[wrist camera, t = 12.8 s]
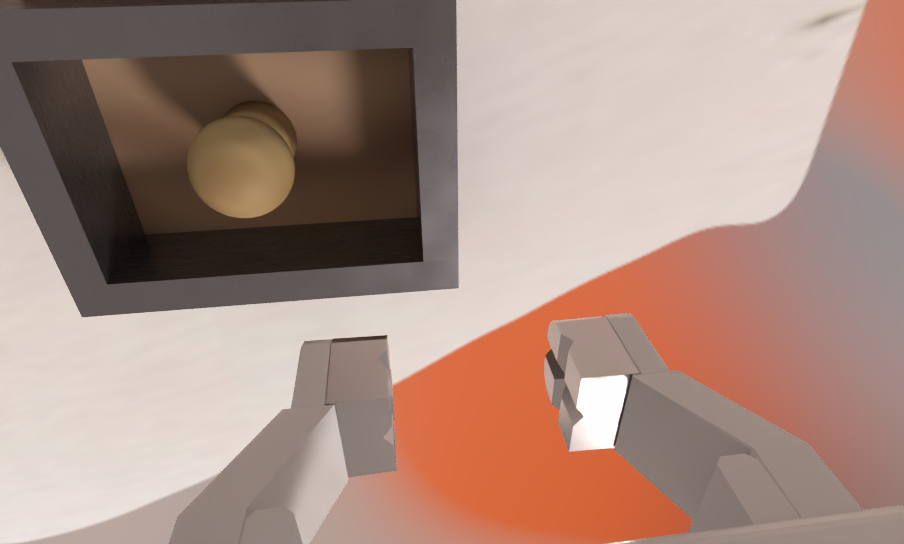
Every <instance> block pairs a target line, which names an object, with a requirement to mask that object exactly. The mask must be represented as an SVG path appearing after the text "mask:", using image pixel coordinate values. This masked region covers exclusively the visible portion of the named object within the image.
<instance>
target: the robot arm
mask: <svg viewBox="0 0 904 544" xmlns="http://www.w3.org/2000/svg"><path fill="white" fill-rule="evenodd" d="M547 338H548V340H549V343H550V346H551V348H552V349H551V350H550V351H549V352H548V353H547V354H546V356H545V366H544V373H545V384H546V388H547V392H548V395H549V398H550V401H551V404H552V405H554V406H555V407H557V408H558V409H559V410H560V414H559V420H558V423H559V426H560V428H561V431H562V434H563V436H564V439H565V442H566V444H567V447H568V450H569V451H578V450H591V449H603V448H615V449H614V450H615V451H616V452H617V453H618V454H620V455H621V456H622V457H623V458H624V459H625V460H626V461H627V462H629V463H630V464H631V465H632V466H633V467H634V468H636V470H638V471H639V472H640V473H641V474H642V475H643V476H644V477H645V478H647V479H648V480H649V481H650V482H651V483H652V484H653V485H654V486H656V487H657V488H658V489H659V490H660V491H661V492H662V493H663V494H665V495H666V496H667V497H668V498H669V499H671V501H672V502H674V503H675V504H676V505H677V506H678V507H679V508H680V509H681V510H682V511H684V512H685V513H686V514H687V515H688V516H689V517H690V518H691V519H693V522H692V525H691V527H690V530H689V532H688V533H684V534H676V535H669V536H661V537H653V538H646V539H638V540H630V541H623V542H615V543H608V544H904V505H899V506H892V507H883V508H876V509H868V510H862V508H861V507H860V506H859V505H858V503H857V502H856V501H855V500H854V499H853V497H852V496H851V495H850V494H849V493H848V491H847V490H846V489H845V488H844V486H843V485H842V484H841V483H840V482H839V480H838V479H837V478H836V477H835V476H834V474H833V473H832V472H831V471H830V469H829V468H828V467H827V466H826V464H825V463H824V462H823V461H822V460H821V458H820V457H819V456H818V455H817V454H816V453H815V451H814V450H813V449H812V447H811V446H810V445H809V444H807V443H806V442H804V441H802V440H800V439H798V438H797V437H795V436H793V435H791V434H790V433H787V432H786V431H784V430H782V429H781V428H779V427H777V426H775V425H774V424H772V423H770V422H768V421H766V420H765V419H763V418H761V417H759V416H757V415H756V414H754V413H752V412H750V411H749V410H747V409H745V408H743V407H741V406H740V405H738V404H736V403H734V402H733V401H731V400H729V399H727V398H725V397H724V396H722V395H720V394H718V393H717V392H715V391H713V390H711V389H709V388H708V387H706V386H704V385H702V384H700V383H699V382H697V381H695V380H693V379H692V378H690V377H688V376H686V375H685V374H683V373H681V372H679V371H669V369H668V368H667V366H666V365H665V363H664V362H663V360H662V359H661V357H660V356H659V354H658V353H657V351H656V350H655V348H654V347H653V345H652V344H651V342H650V341H649V339H648V338H647V336H646V335H645V333H644V332H643V330H642V329H641V327H640V325H639V324H638V322H637V321H636V320H635V318H634V316H632V315H631V314H629V313H624V314H616V315H615V314H614V315H606V316H602V317H591V318H581V319H571V320H570V319H569V320H559V321H551V323H550V326H549V329H548V337H547ZM389 471H396V446H395V432H394V405H393V389H392V377H391V370H390V360H389V347H388V339H387V335H386V336H370V337H355V338H339V339H333V340H316V341H304V343H303V345H302V347H301V351H300V357H299V363H298V369H297V375H296V381H295V388H294V394H293V400H292V406H291V409H284V410H282V411H281V412H280V413H279V414H278V415H277V416H276V417H275V418H274V419H273V420H272V421H271V422H270V423H269V424H268V425H267V426H266V427H265V428H264V429H263V430H262V431H261V432H260V433H259V434H258V435H257V436H256V437H255V438H254V439H253V440H252V441H251V442H250V443H249V444H248V445H247V446H246V447H245V448H244V449H243V450H242V451H241V452H240V453H239V454H238V455H237V456H236V458H235V459H234V460H233V461H232V462H231V463H230V464H229V465H228V466H227V467H226V468H225V469H224V470H223V471H222V472H221V473H220V474H219V475H218V476H217V477H216V478H215V479H214V480H213V481H212V482H211V483H210V484H209V485H208V486H207V487H206V488H205V489H204V490H203V491H202V492H201V493H200V494H199V495H198V496H197V497H196V498H195V499H194V500H193V501H192V502H191V503H190V505H189V506H187V507H186V508H185V510H184V511H183V512H182V513H181V514H180V515H179V516H178V517H177V520H176V523H175V526H174V530H173V533H172V536H171V539H170V542H169V544H309V543H310V542H311V540H312V538H313V537H314V535H315V534H316V532H317V530H318V529H319V527H320V525H321V524H322V522H323V521H324V519H325V517H326V516H327V514H328V512H329V511H330V509H331V508H332V506H333V504H334V503H335V501H336V500H337V498H338V496H339V495H340V493H341V491H342V490H343V488H344V487H345V485H346V483H347V482H348V477H353V476H361V475H369V474H375V473H383V472H389Z"/></svg>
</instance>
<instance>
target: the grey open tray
mask: <svg viewBox="0 0 904 544" xmlns="http://www.w3.org/2000/svg"><path fill="white" fill-rule="evenodd" d="M391 48H408V55H409V73H410V92H411V111H412V129H413V148H414V167H415V186H416V204H417V217H408V218H393V219H377V220H362V221H346V222H331V223H315V224H300V225H284V226H269V227H253V228H238V229H222V230H207V231H192V232H176V233H161V234H145V233H144V230H143V227H142V224H141V222H140V219H139V216H138V213H137V211H136V208H135V205H134V202H133V200H132V197H131V194H130V191H129V188H128V186H127V183H126V180H125V177H124V175H123V172H122V169H121V166H120V164H119V161H118V158H117V155H116V153H115V150H114V147H113V144H112V142H111V139H110V136H109V133H108V131H107V128H106V125H105V122H104V120H103V117H102V114H101V111H100V109H99V106H98V103H97V100H96V98H95V95H94V92H93V89H92V86H91V84H90V81H89V78H88V75H87V73H86V70H85V67H84V64H83V62H82V60H84V59H112V58H140V57H168V56H196V55H224V54H251V53H279V52H307V51H335V50H363V49H391ZM0 147H1V149H2V151H3V153H4V155H5V157H6V159H7V161H8V163H9V165H10V168H11V170H12V172H13V174H14V176H15V178H16V180H17V182H18V184H19V186H20V188H21V190H22V193H23V195H24V197H25V199H26V201H27V203H28V205H29V207H30V209H31V211H32V213H33V216H34V218H35V220H36V222H37V224H38V226H39V228H40V230H41V232H42V234H43V236H44V239H45V241H46V243H47V245H48V247H49V249H50V251H51V253H52V255H53V257H54V259H55V261H56V264H57V266H58V268H59V270H60V272H61V274H62V276H63V278H64V280H65V282H66V284H67V287H68V289H69V291H70V293H71V295H72V297H73V299H74V301H75V303H76V305H77V307H78V310H79V312H80V314H81V316H82V317H90V316H103V315H116V314H129V313H142V312H155V311H168V310H181V309H194V308H207V307H220V306H233V305H246V304H259V303H272V302H285V301H298V300H311V299H323V298H336V297H349V296H362V295H375V294H388V293H401V292H414V291H427V290H440V289H453V288H459V286H458V165H457V44H456V0H0Z"/></svg>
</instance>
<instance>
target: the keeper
mask: <svg viewBox="0 0 904 544" xmlns="http://www.w3.org/2000/svg"><path fill="white" fill-rule="evenodd" d="M82 62H83V64H84V67H85V70H86V73H87V75H88V78H89V81H90V84H91V86H92V89H93V92H94V95H95V98H96V100H97V103H98V106H99V109H100V111H101V114H102V117H103V120H104V122H105V125H106V128H107V131H108V133H109V136H110V139H111V142H112V144H113V147H114V150H115V153H116V155H117V158H118V161H119V164H120V166H121V169H122V172H123V175H124V177H125V180H126V183H127V186H128V188H129V191H130V194H131V197H132V200H133V202H134V205H135V208H136V211H137V213H138V216H139V219H140V222H141V224H142V227H143V230H144V233H145V234H161V233H176V232H192V231H207V230H222V229H238V228H253V227H269V226H284V225H300V224H315V223H331V222H346V221H362V220H377V219H393V218H408V217H417V204H416V186H415V167H414V148H413V129H412V111H411V92H410V73H409V55H408V48H391V49H363V50H335V51H307V52H279V53H251V54H224V55H196V56H168V57H140V58H112V59H84V60H82Z"/></svg>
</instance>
